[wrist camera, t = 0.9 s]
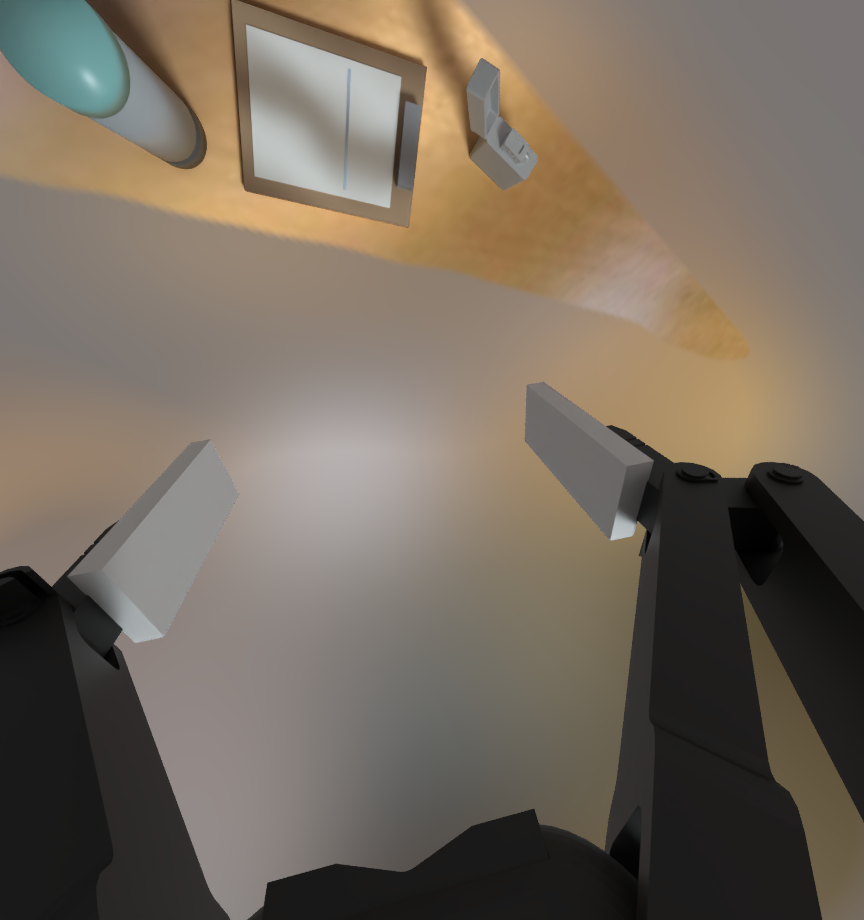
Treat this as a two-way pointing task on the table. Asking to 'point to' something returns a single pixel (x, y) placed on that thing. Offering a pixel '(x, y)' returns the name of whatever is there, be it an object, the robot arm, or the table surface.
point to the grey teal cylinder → (98, 76)
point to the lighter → (495, 131)
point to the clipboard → (326, 117)
